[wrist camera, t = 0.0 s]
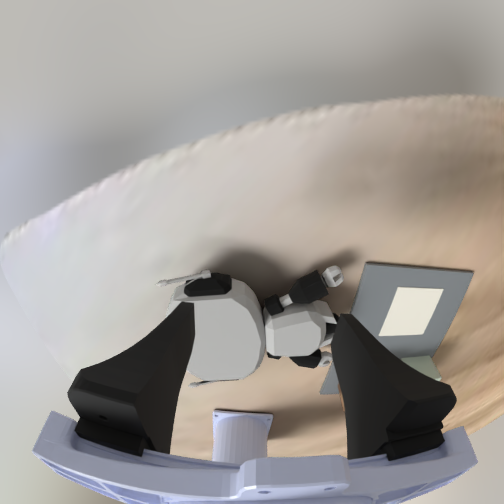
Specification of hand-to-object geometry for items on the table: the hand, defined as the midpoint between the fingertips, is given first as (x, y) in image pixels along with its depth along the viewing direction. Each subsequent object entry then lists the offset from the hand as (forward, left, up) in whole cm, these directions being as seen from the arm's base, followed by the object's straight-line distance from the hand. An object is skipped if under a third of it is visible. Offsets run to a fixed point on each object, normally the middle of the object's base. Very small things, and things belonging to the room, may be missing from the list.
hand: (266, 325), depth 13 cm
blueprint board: (-10, -16, -10) cm, 21 cm away
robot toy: (-7, 0, -10) cm, 13 cm away
